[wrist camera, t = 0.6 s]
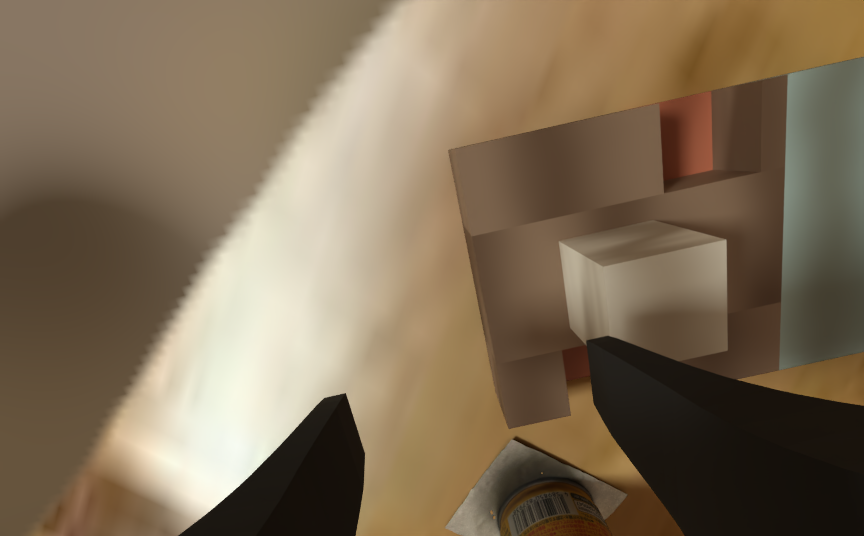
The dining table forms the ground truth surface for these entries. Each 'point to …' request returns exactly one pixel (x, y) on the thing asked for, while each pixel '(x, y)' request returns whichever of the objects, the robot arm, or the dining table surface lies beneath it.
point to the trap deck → (677, 223)
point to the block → (649, 288)
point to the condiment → (535, 499)
